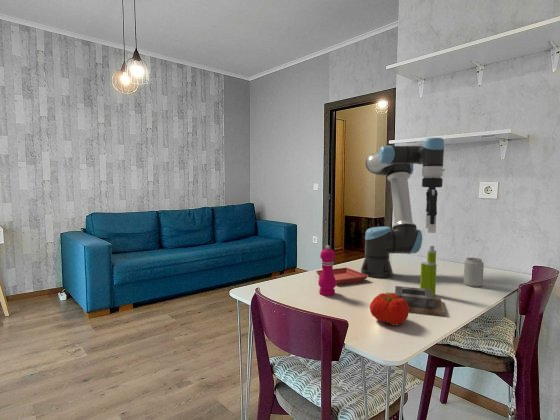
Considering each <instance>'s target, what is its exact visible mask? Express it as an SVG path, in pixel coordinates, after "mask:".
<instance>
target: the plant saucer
mask: <svg viewBox="0 0 560 420" xmlns="http://www.w3.org/2000/svg"><path fill="white" fill-rule="evenodd" d="M315 272H316V274H317V275H318V276H319V277H320V276H321V273H322V269H320V270H316V271H315ZM333 274H334V277H335V279H336V286H337V285H338V286H339V285H346V284H353V283H361V282H364V281H365V280H366V279H367V278H368V275H366V274H363V273H361V271H360V272H359V271H358V270H354V269H351V268H349V267H339V268H333Z"/></svg>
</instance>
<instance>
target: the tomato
mask: <svg viewBox="0 0 560 420" xmlns="http://www.w3.org/2000/svg"><path fill="white" fill-rule="evenodd" d="M389 293H390V294H388V295H387V294H386V293H379V294H378V295H376V296H375V297H373V299H372V301H371V302H370V305H369V311H370V314H371V316H372V317H374V318H375V319H376V320H378V322H381V323H389V324H390V325H391V326H399V325H402V324H403V323H405V322H406V321H407V320H408V318H409V313H410V312H409V306H408V304H407V302H406V301H405V299H402V298H399V296H397V295H395V294H392V293H393V292H389Z"/></svg>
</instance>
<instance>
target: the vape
mask: <svg viewBox="0 0 560 420" xmlns="http://www.w3.org/2000/svg"><path fill="white" fill-rule="evenodd" d="M426 256H427V257H426V258H427V259H426V261H424V262H420V279H419V280H420V285H419V286H420V287H419V288H422V289H431V290H432V293H433V297H435V296H436V290H437V289H436V285H437V283H436V282H437V262H436V261H437V250H435V246H434V245H430V246H429V249H428V250H427V255H426Z"/></svg>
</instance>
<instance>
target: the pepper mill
mask: <svg viewBox="0 0 560 420" xmlns="http://www.w3.org/2000/svg"><path fill="white" fill-rule="evenodd" d="M319 257H320V259H321V265H322V269H321V270H322V273H321V276H319V277H318V281H317V282H318V286H319V290H318V292H319V295H321V296H325V297H331V296H334V295H335V294H336V291H335V290H336V289H335V288H336V286H337V285H336V279H335V277H334V274H333V269H334V268H333V267H334V264H335V263H334V262H335V261H334V259H336V254H335V251H334V250H333V249H331V246H330V245H328V244H327V245H326V246H325V249H323V250H320V254H319Z"/></svg>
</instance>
